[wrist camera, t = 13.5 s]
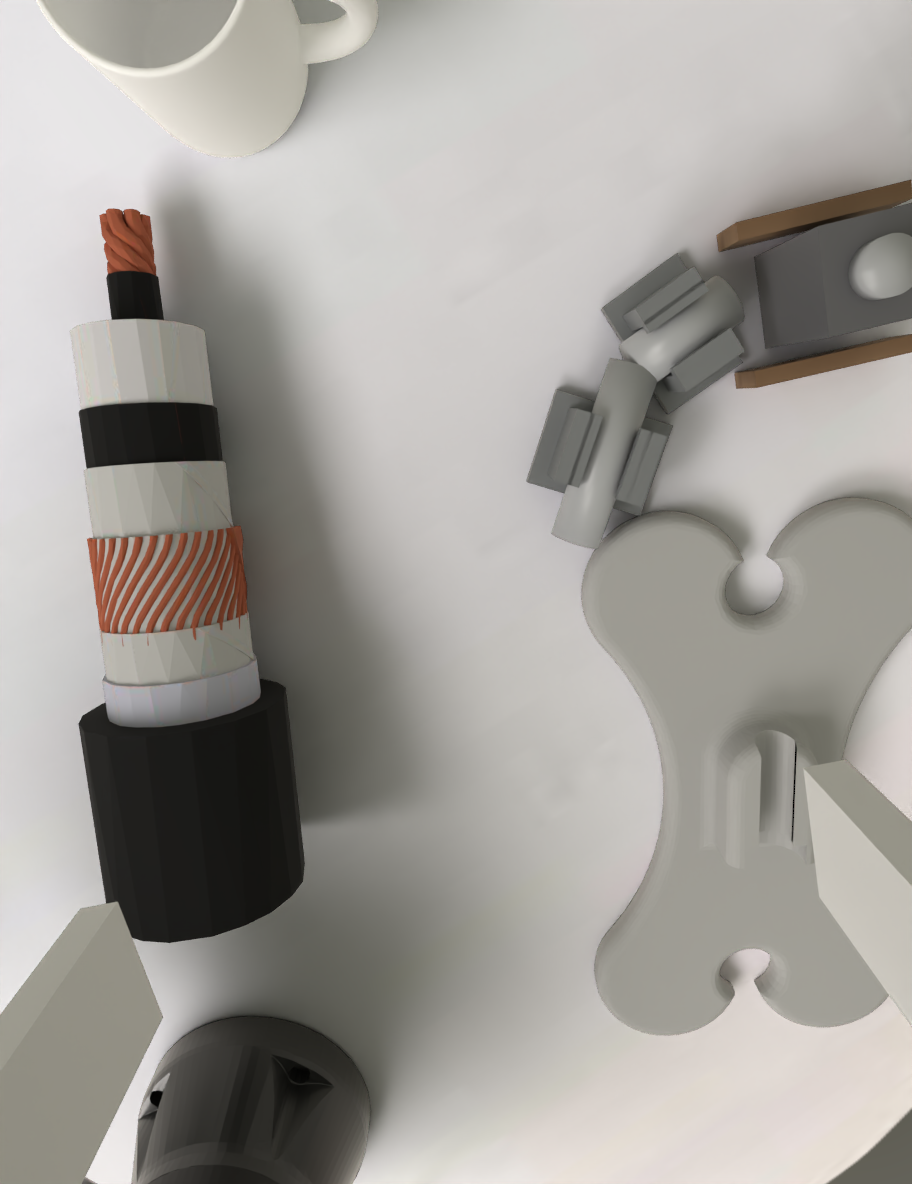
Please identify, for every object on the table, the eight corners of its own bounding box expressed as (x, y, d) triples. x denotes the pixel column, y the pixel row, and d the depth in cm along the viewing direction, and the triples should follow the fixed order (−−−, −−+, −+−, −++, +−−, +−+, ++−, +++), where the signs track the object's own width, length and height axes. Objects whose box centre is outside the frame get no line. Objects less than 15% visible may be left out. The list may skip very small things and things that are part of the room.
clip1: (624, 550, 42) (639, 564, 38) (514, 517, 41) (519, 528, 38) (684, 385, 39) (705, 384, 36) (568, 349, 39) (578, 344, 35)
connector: (844, 235, 37) (946, 190, 29) (853, 327, 39) (953, 309, 31) (754, 257, 38) (831, 219, 30) (765, 348, 39) (842, 335, 31)
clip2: (658, 419, 40) (676, 421, 36) (592, 315, 38) (605, 307, 35) (746, 357, 39) (774, 353, 35) (682, 248, 38) (704, 233, 34)
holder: (925, 490, 41) (986, 502, 36) (883, 1004, 49) (928, 1070, 45) (576, 515, 42) (591, 530, 37) (594, 1019, 50) (608, 1086, 45)
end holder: (890, 353, 39) (922, 349, 36) (736, 388, 39) (756, 387, 37) (878, 195, 37) (911, 179, 34) (716, 235, 37) (736, 222, 35)
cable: (218, 255, 42) (254, 186, 33) (281, 825, 47) (328, 900, 38) (11, 242, 38) (-12, 158, 29) (104, 871, 43) (110, 968, 34)
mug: (387, -38, 35) (356, -214, 25) (393, 161, 37) (366, 72, 27) (130, -33, 35) (-4, -205, 25) (150, 164, 37) (34, 78, 27)
